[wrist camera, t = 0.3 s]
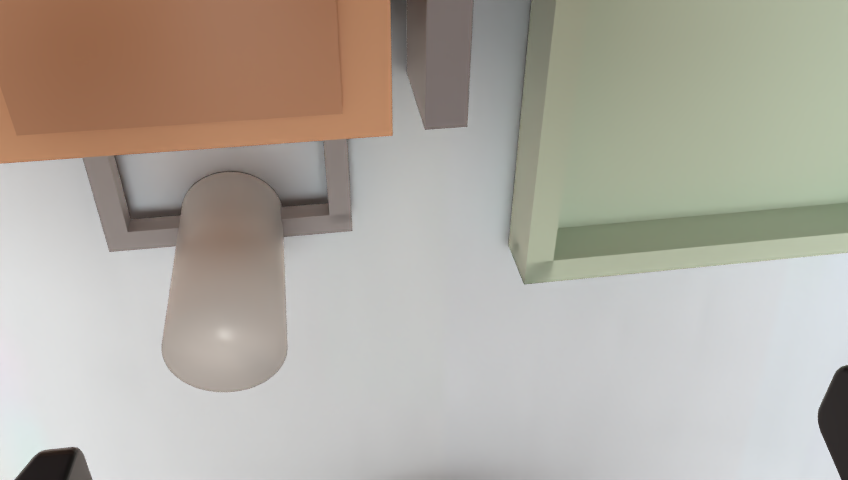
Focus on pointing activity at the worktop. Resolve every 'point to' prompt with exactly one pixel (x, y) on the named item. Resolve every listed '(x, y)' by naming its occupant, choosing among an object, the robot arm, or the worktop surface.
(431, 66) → the printer bay
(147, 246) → the raised panel orange block
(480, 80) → the worktop surface
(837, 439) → the robot arm
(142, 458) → the worktop surface
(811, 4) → the tray
